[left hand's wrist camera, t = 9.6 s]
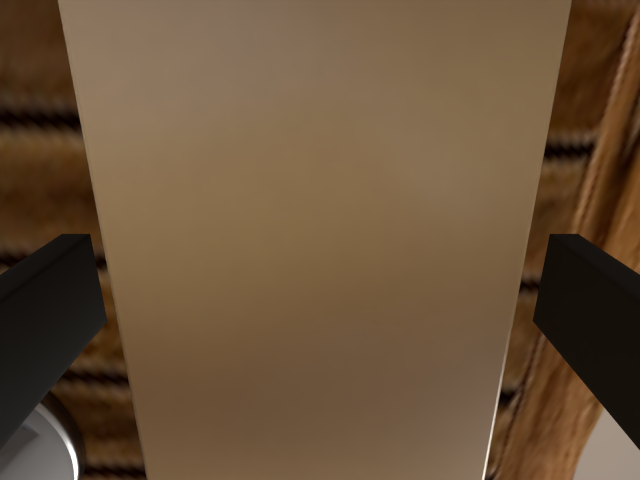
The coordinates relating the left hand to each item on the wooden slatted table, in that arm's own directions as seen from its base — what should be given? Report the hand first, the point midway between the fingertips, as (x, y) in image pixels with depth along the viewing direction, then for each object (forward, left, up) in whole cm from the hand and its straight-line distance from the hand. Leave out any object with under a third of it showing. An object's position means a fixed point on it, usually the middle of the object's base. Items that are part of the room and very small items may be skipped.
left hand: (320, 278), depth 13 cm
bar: (0, +7, -3) cm, 8 cm away
